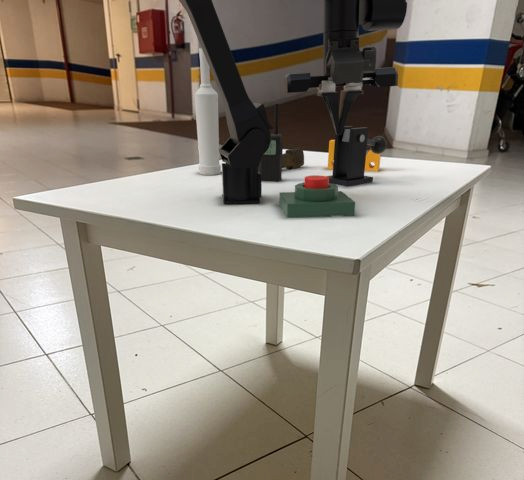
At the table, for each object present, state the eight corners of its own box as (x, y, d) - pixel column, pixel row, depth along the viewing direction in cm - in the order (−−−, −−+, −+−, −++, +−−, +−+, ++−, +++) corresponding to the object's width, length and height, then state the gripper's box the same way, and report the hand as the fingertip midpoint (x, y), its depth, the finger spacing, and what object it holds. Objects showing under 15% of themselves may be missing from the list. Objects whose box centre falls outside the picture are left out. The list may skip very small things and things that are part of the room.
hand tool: (257, 177, 111) (257, 155, 109) (245, 174, 114) (245, 153, 112) (311, 168, 123) (312, 148, 121) (299, 166, 126) (300, 146, 123)
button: (306, 191, 80) (307, 179, 79) (302, 186, 83) (302, 175, 82) (331, 190, 80) (331, 179, 79) (325, 185, 84) (326, 175, 83)
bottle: (222, 171, 118) (218, 48, 106) (218, 175, 113) (213, 47, 101) (201, 171, 118) (194, 48, 106) (196, 175, 114) (189, 47, 102)
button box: (287, 217, 79) (287, 192, 77) (279, 205, 87) (279, 181, 85) (354, 216, 80) (356, 190, 78) (340, 203, 88) (342, 180, 86)
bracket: (348, 178, 110) (352, 125, 105) (372, 183, 105) (378, 127, 100) (322, 182, 106) (325, 127, 101) (346, 187, 101) (351, 129, 96)
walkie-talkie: (258, 181, 106) (258, 103, 99) (262, 178, 109) (262, 103, 102) (280, 182, 105) (281, 104, 98) (283, 179, 108) (285, 103, 101)
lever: (374, 154, 110) (379, 137, 109) (387, 156, 107) (392, 138, 106) (338, 144, 102) (342, 125, 101) (351, 146, 100) (355, 126, 98)
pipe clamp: (379, 169, 121) (382, 140, 118) (377, 171, 118) (380, 142, 114) (330, 166, 124) (332, 139, 121) (327, 169, 121) (329, 140, 117)
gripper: (289, 32, 74) (291, 143, 82) (412, 24, 75) (403, 136, 82) (282, 36, 84) (285, 136, 92) (391, 30, 84) (385, 129, 92)
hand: (338, 134), depth 89 cm, fingers closed
